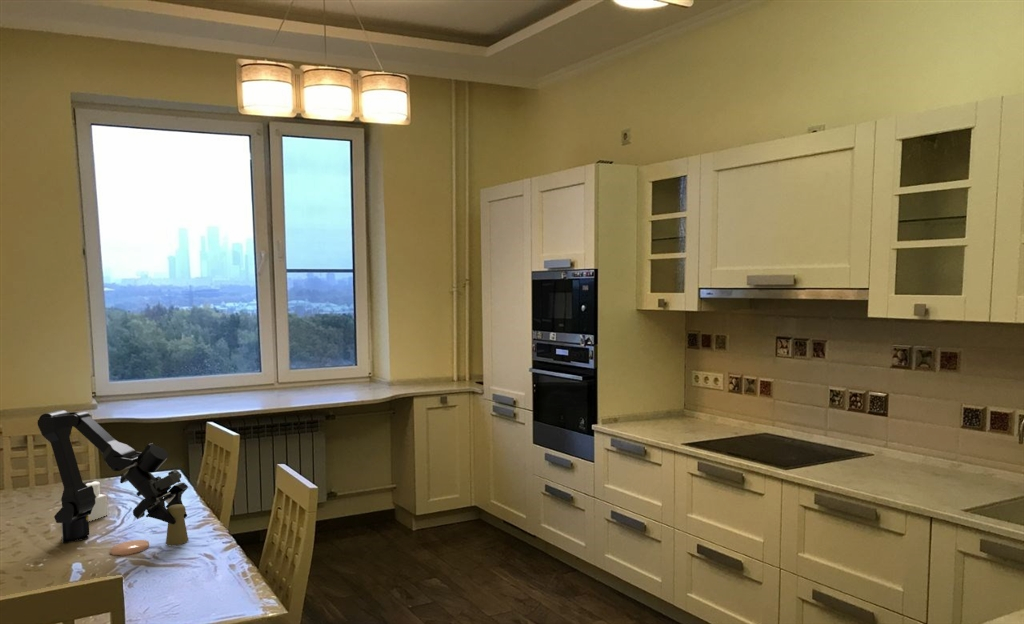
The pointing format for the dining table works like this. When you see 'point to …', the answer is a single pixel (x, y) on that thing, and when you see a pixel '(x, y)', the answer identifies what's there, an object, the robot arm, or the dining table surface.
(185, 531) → the cork
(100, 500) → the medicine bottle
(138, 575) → the dining table surface
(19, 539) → the dining table surface
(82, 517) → the robot arm
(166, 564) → the dining table surface
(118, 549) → the peach round disc
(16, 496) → the dining table surface
